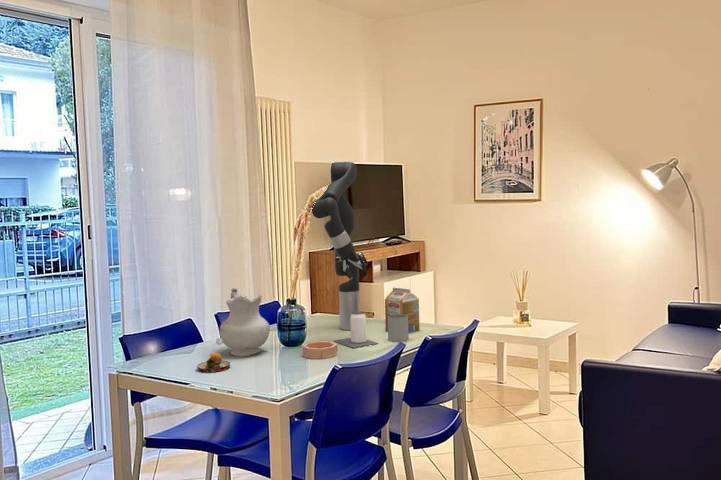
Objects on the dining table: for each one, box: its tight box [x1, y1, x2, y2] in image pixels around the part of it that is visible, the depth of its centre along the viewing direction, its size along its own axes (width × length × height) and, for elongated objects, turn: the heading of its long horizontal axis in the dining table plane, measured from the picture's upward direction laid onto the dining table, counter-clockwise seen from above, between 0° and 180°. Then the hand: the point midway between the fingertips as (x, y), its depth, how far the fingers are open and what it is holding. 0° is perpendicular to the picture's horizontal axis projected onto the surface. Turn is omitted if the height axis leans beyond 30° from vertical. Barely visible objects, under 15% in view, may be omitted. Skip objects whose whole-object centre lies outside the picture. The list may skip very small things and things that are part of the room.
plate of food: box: [196, 350, 231, 374], centre depth 241 cm, size 12×12×8 cm
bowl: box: [302, 340, 339, 360], centre depth 256 cm, size 13×13×4 cm
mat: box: [333, 337, 379, 349], centre depth 275 cm, size 16×12×1 cm
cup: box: [387, 314, 409, 343], centre depth 278 cm, size 8×8×10 cm
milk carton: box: [384, 287, 420, 335], centre depth 294 cm, size 11×11×19 cm
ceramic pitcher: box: [219, 287, 270, 358], centre depth 264 cm, size 22×20×25 cm
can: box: [350, 311, 368, 343], centre depth 274 cm, size 6×6×12 cm
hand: (358, 276), depth 278 cm, fingers open, 8 cm apart
